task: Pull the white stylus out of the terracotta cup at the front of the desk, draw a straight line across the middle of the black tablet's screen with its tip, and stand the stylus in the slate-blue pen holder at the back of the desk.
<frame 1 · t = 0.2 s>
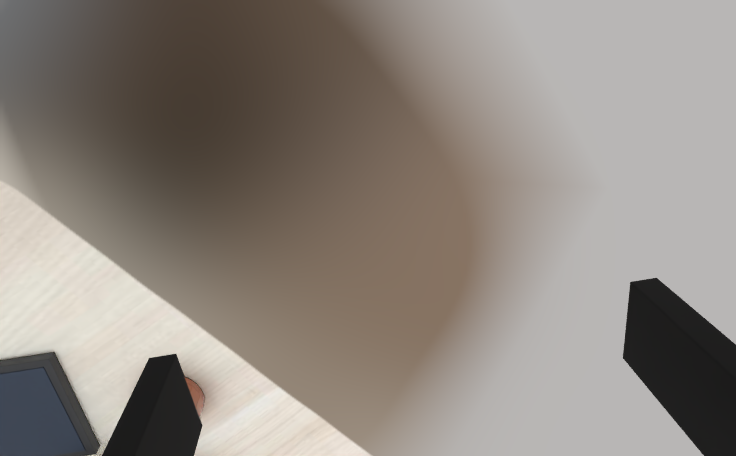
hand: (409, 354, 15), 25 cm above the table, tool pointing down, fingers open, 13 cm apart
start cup: (172, 398, 46), on the table
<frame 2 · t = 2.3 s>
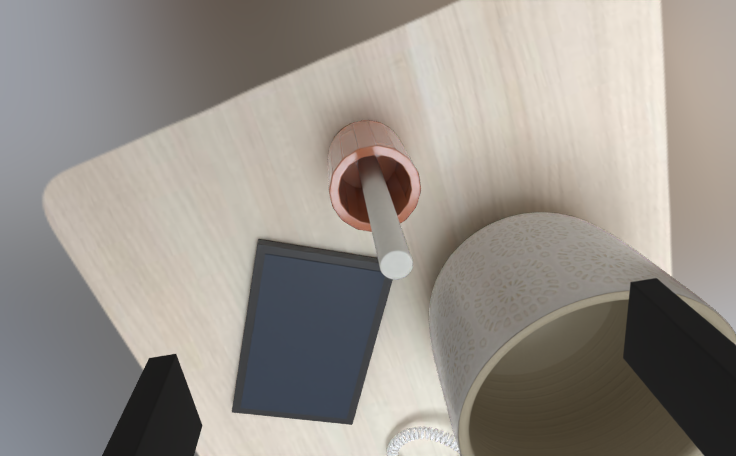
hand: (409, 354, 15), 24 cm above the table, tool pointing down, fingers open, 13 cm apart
planter: (511, 280, 43), on the table
stylus: (366, 160, 37), point 1 cm above the table, touching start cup
tablet: (309, 336, 44), on the table
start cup: (366, 157, 38), on the table
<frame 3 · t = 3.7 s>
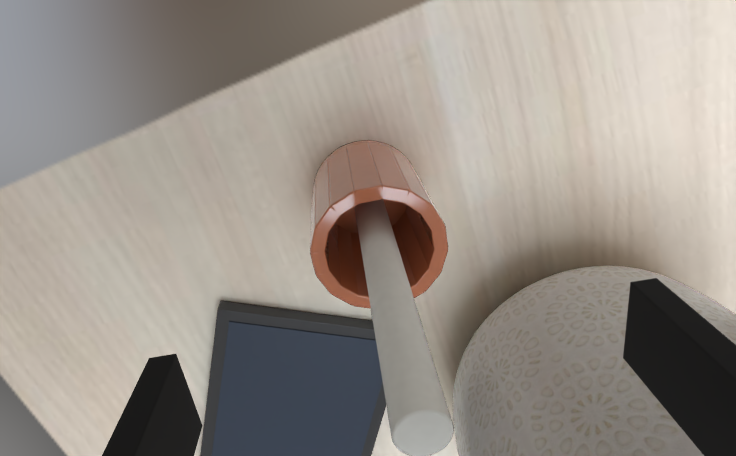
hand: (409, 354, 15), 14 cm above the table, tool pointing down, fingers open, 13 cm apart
planter: (558, 346, 33), on the table
stylus: (366, 195, 27), point 1 cm above the table, touching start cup
tablet: (293, 420, 33), on the table
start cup: (365, 191, 27), on the table
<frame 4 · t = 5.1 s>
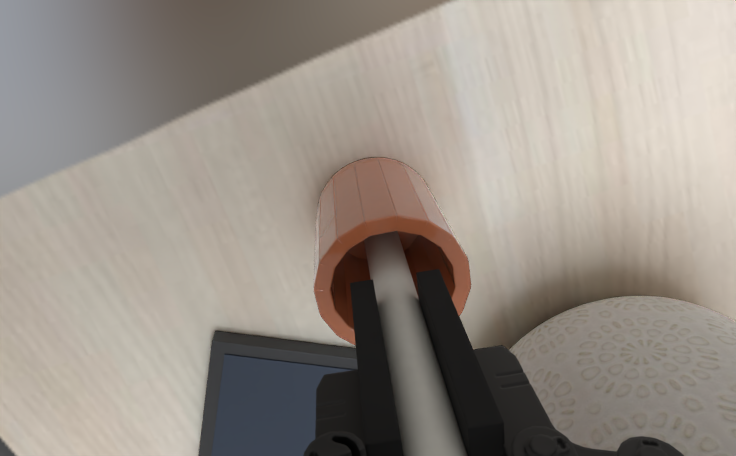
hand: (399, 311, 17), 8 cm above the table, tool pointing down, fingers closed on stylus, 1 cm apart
planter: (583, 378, 30), on the table
stylus: (376, 218, 24), point 1 cm above the table, touching gripper, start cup
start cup: (375, 213, 25), on the table
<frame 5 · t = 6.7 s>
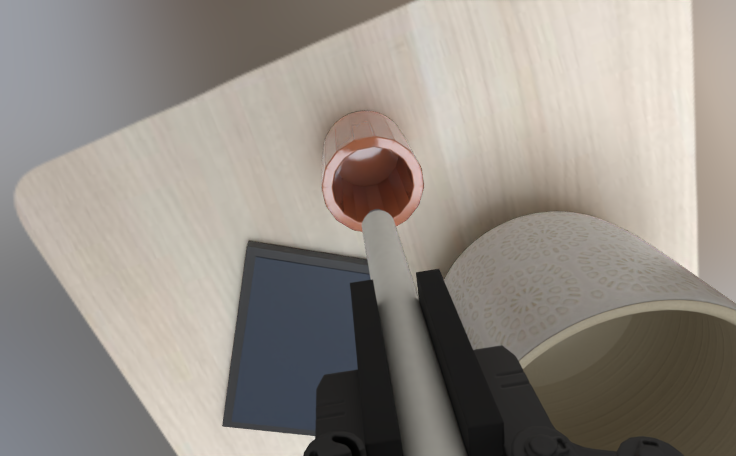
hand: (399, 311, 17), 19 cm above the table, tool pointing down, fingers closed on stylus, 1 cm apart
planter: (523, 286, 40), on the table
stylus: (376, 217, 24), point 11 cm above the table, touching gripper
tablet: (305, 346, 41), on the table
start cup: (364, 152, 34), on the table
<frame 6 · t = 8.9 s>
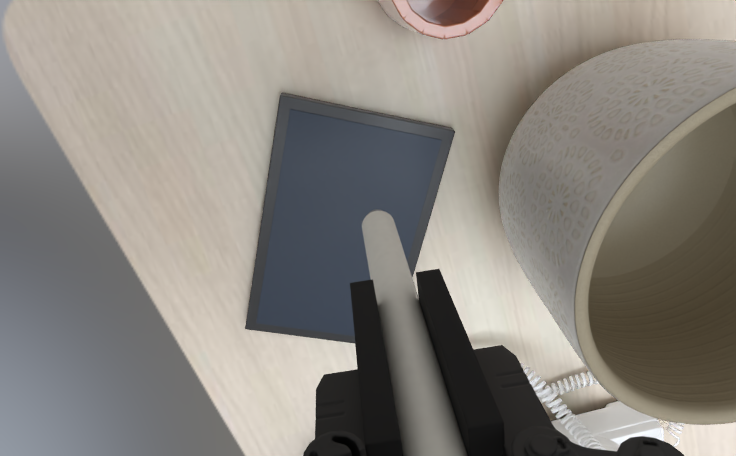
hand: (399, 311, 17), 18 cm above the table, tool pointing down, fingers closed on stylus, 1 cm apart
telephone: (563, 430, 45), on the table
planter: (594, 160, 35), on the table
stylus: (376, 218, 24), point 10 cm above the table, touching gripper
tablet: (342, 231, 35), on the table
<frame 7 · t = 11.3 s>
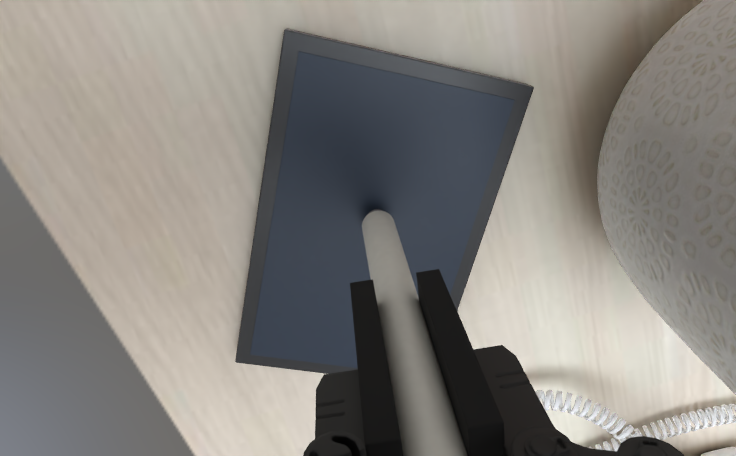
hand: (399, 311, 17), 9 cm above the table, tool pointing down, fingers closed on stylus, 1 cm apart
planter: (718, 132, 25), on the table
stylus: (376, 218, 24), point 1 cm above the table, touching gripper
tablet: (368, 230, 26), on the table
when the fingers open (8 cm above the table, at t = 19.2 s): stylus stays where it is, resting on holder.
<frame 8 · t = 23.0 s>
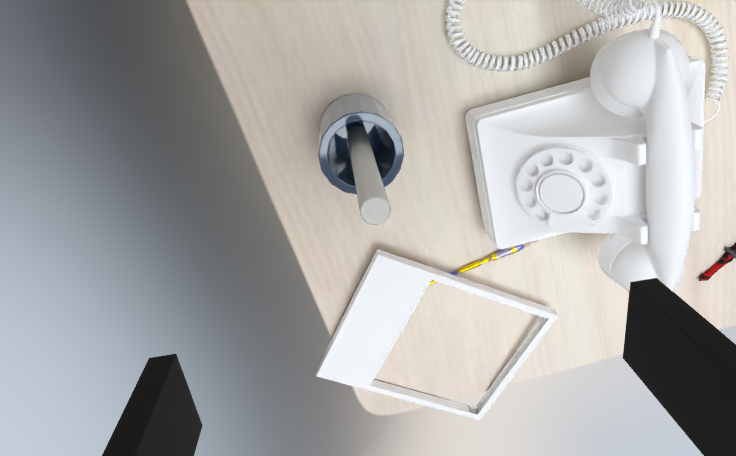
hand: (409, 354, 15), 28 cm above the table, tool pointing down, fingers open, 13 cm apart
holder: (355, 129, 40), on the table
photo frame: (342, 314, 46), point 1 cm above the table, touching pen
telephone: (590, 106, 41), on the table
pen: (475, 265, 45), point 1 cm above the table, touching photo frame
stylus: (356, 132, 39), point 1 cm above the table, touching holder
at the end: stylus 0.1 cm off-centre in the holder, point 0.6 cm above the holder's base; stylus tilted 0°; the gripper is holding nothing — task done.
